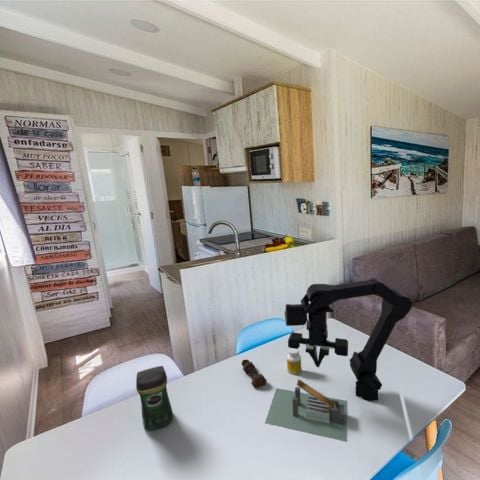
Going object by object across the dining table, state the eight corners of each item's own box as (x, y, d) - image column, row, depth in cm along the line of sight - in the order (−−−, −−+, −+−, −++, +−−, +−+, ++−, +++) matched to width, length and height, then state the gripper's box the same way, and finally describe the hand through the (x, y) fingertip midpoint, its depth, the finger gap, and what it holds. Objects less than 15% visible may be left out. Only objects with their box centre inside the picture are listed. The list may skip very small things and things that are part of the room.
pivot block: (344, 413, 92) (344, 401, 91) (344, 424, 88) (344, 412, 87) (332, 411, 94) (331, 399, 93) (331, 421, 89) (331, 409, 89)
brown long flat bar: (335, 405, 92) (337, 403, 91) (335, 412, 89) (337, 410, 89) (297, 380, 94) (299, 378, 94) (296, 386, 92) (297, 384, 92)
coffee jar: (171, 407, 102) (164, 360, 98) (174, 425, 94) (167, 374, 90) (142, 416, 99) (134, 367, 95) (143, 435, 91) (134, 383, 87)
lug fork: (300, 403, 98) (300, 387, 97) (297, 417, 92) (297, 400, 91) (296, 402, 98) (295, 386, 97) (293, 416, 93) (292, 399, 92)
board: (347, 403, 97) (347, 400, 97) (346, 444, 83) (346, 441, 83) (276, 390, 106) (276, 388, 106) (265, 425, 91) (264, 423, 91)
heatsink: (330, 407, 95) (330, 398, 94) (329, 425, 88) (329, 415, 88) (308, 403, 97) (308, 394, 97) (305, 420, 91) (305, 410, 90)
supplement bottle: (297, 378, 111) (296, 356, 109) (285, 374, 114) (283, 351, 112) (303, 370, 115) (302, 348, 113) (291, 366, 118) (290, 344, 116)
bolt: (247, 369, 122) (262, 391, 108) (236, 367, 120) (251, 389, 106) (252, 356, 122) (268, 377, 108) (242, 354, 120) (257, 374, 106)
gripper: (348, 315, 98) (348, 357, 101) (293, 309, 105) (294, 348, 108) (348, 332, 88) (347, 377, 91) (286, 324, 95) (288, 367, 98)
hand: (318, 366), depth 97 cm, fingers closed
